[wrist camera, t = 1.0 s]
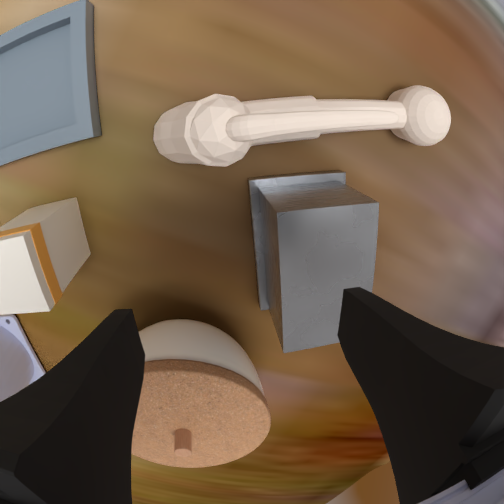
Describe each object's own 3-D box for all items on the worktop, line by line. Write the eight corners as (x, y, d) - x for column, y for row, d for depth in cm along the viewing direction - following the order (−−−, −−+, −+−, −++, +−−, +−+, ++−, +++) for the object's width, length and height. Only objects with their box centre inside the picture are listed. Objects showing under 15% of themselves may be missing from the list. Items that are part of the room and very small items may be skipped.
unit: (259, 304, 22) (275, 360, 17) (247, 177, 19) (264, 202, 13) (338, 291, 23) (371, 340, 18) (340, 170, 19) (387, 191, 14)
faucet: (377, 136, 23) (483, 151, 15) (159, 174, 17) (221, 206, 9) (373, 89, 22) (481, 90, 14) (147, 106, 15) (199, 65, 7)
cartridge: (44, 261, 19) (-3, 315, 13) (29, 207, 17) (-30, 247, 11) (91, 254, 19) (51, 311, 13) (77, 196, 18) (23, 234, 11)
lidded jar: (242, 279, 22) (265, 379, 13) (262, 383, 26) (283, 475, 17) (98, 304, 21) (56, 400, 12) (146, 400, 25) (136, 488, 17)
